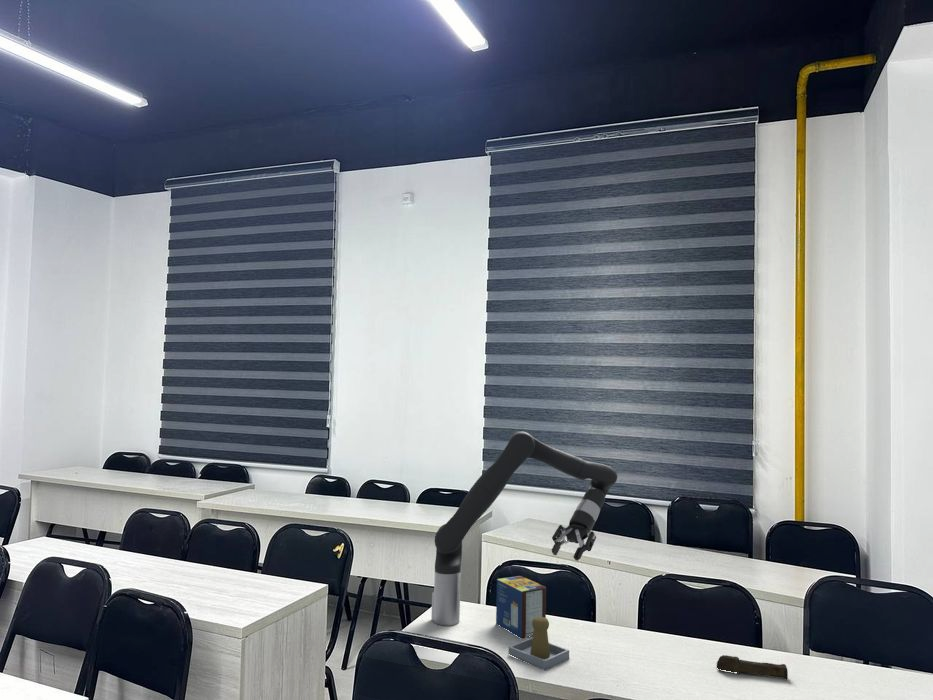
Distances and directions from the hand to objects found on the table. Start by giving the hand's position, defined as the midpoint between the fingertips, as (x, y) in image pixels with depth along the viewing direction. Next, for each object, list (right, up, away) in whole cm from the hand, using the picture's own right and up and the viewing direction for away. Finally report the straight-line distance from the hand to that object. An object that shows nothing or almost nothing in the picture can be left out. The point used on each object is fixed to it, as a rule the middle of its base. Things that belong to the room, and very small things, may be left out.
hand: (564, 556), depth 200 cm
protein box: (-13, -29, +12) cm, 34 cm away
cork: (-9, -27, -11) cm, 30 cm away
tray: (-10, -27, -11) cm, 31 cm away
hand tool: (+51, -28, -20) cm, 62 cm away
